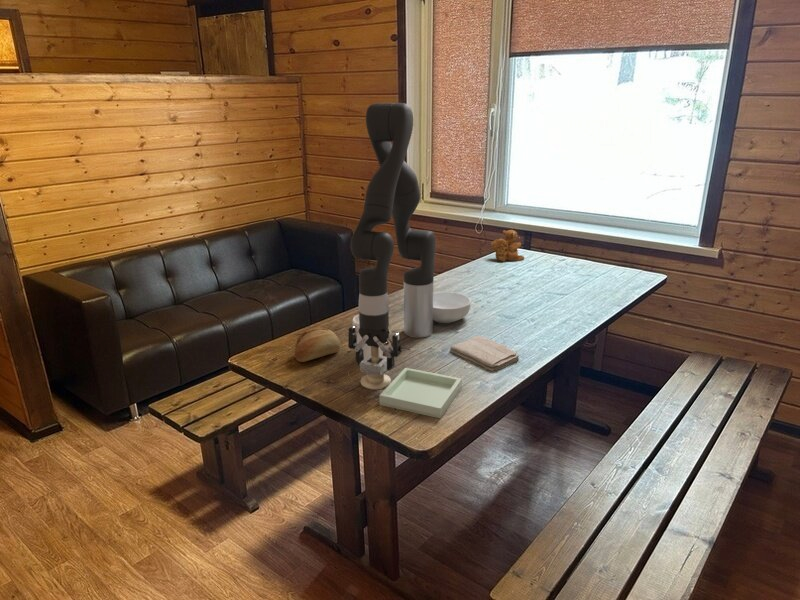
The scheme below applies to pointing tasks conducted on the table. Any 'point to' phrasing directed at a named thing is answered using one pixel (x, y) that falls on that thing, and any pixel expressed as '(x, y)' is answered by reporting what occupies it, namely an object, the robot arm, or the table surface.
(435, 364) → the table surface
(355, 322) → the foam cup
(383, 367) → the ring
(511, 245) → the stuffed squirrel
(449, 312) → the cereal bowl
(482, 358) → the washcloth
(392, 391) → the tray
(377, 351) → the beige peg stand
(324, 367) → the table surface
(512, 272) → the table surface
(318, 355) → the bread roll
